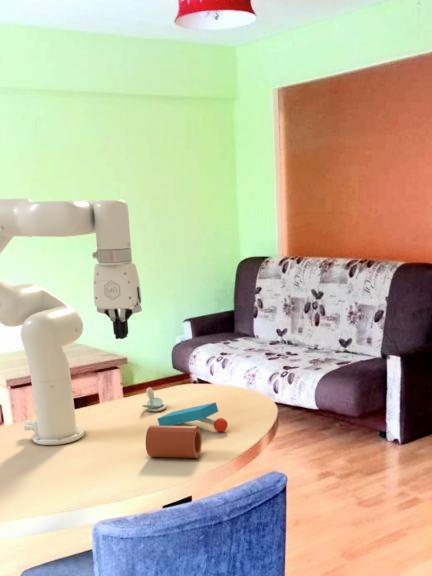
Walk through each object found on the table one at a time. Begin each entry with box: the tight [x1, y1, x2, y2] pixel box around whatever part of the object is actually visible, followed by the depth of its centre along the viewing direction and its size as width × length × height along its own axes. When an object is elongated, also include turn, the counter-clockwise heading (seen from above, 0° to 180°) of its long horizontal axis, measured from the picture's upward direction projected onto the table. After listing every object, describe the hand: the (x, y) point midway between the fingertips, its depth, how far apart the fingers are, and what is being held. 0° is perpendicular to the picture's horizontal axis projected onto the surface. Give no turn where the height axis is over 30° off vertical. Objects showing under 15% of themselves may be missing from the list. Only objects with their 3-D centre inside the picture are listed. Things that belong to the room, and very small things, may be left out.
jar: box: [145, 425, 203, 459], centre depth 165 cm, size 7×7×11 cm
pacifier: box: [141, 386, 167, 412], centre depth 203 cm, size 7×6×6 cm
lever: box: [157, 402, 229, 433], centre depth 185 cm, size 7×7×18 cm
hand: (121, 337), depth 170 cm, fingers closed
